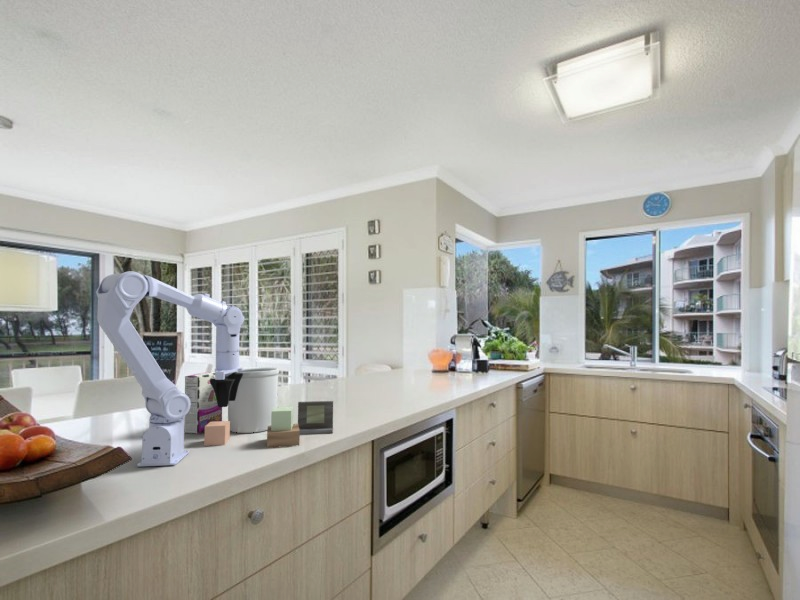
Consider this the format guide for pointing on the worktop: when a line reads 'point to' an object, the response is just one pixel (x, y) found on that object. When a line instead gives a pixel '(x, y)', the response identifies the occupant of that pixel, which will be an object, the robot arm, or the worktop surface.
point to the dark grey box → (315, 417)
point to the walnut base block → (283, 437)
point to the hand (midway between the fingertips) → (227, 403)
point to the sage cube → (281, 418)
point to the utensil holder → (254, 400)
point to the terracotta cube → (217, 433)
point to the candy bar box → (201, 402)
